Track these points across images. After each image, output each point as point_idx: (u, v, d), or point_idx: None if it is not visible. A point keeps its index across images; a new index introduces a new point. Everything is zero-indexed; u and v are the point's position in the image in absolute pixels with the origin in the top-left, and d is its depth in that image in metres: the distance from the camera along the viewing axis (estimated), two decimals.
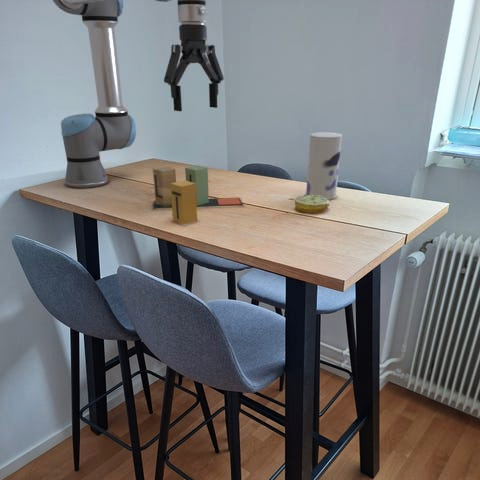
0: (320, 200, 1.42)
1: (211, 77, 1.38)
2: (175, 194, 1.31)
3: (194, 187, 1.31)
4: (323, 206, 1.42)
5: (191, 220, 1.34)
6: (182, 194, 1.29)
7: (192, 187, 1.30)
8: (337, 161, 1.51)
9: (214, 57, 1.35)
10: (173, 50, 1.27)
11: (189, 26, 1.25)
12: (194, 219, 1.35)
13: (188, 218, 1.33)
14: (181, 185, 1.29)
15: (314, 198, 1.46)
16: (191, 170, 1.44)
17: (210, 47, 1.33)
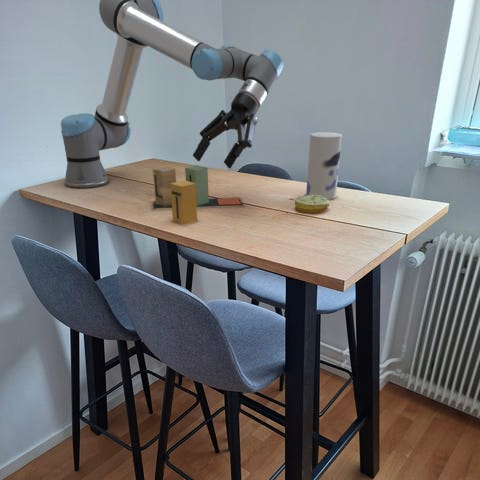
0: (320, 200, 1.42)
1: None
2: (175, 194, 1.31)
3: (194, 187, 1.31)
4: (323, 206, 1.42)
5: (191, 220, 1.34)
6: (182, 194, 1.29)
7: (192, 187, 1.30)
8: (337, 161, 1.51)
9: (248, 122, 1.31)
10: None
11: None
12: (194, 219, 1.35)
13: (188, 218, 1.33)
14: (181, 185, 1.29)
15: (314, 198, 1.46)
16: (191, 170, 1.44)
17: None
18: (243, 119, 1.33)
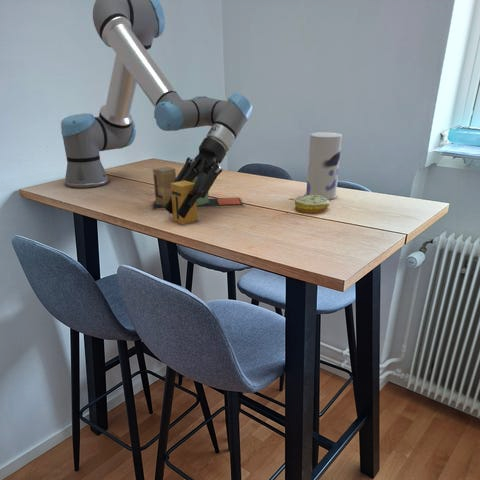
0: (320, 200, 1.42)
1: None
2: (175, 194, 1.31)
3: None
4: (323, 206, 1.42)
5: (191, 220, 1.34)
6: (182, 194, 1.29)
7: (192, 187, 1.30)
8: (337, 161, 1.51)
9: (209, 172, 1.29)
10: None
11: None
12: (194, 219, 1.35)
13: (188, 218, 1.33)
14: (181, 185, 1.29)
15: (314, 198, 1.46)
16: None
17: None
18: (210, 164, 1.31)
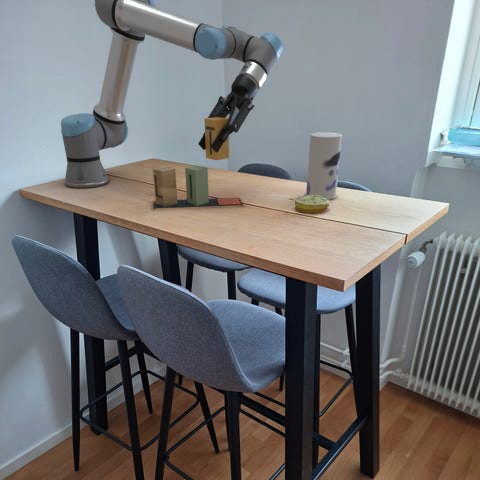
0: (320, 200, 1.42)
1: None
2: (209, 129, 1.35)
3: None
4: (323, 206, 1.42)
5: (223, 156, 1.39)
6: (216, 128, 1.34)
7: (225, 122, 1.35)
8: (337, 161, 1.51)
9: (242, 107, 1.34)
10: None
11: None
12: (226, 155, 1.40)
13: (220, 153, 1.38)
14: (215, 119, 1.33)
15: (314, 198, 1.46)
16: (191, 170, 1.44)
17: None
18: (243, 100, 1.35)
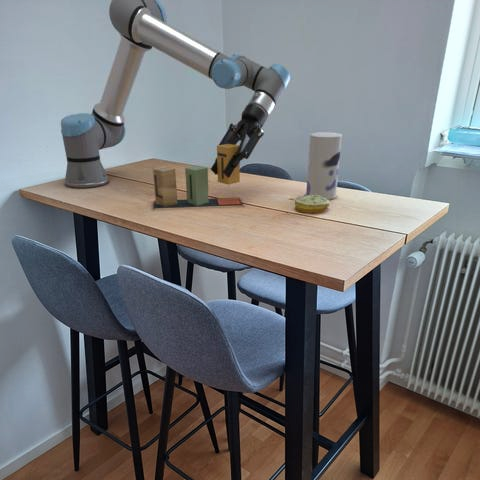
0: (320, 200, 1.42)
1: None
2: (221, 155, 1.44)
3: None
4: (323, 206, 1.42)
5: (234, 180, 1.47)
6: (228, 155, 1.42)
7: (236, 149, 1.43)
8: (337, 161, 1.51)
9: (252, 135, 1.42)
10: None
11: None
12: (237, 179, 1.48)
13: (232, 178, 1.46)
14: (227, 147, 1.42)
15: (314, 198, 1.46)
16: (191, 170, 1.44)
17: None
18: (253, 128, 1.44)
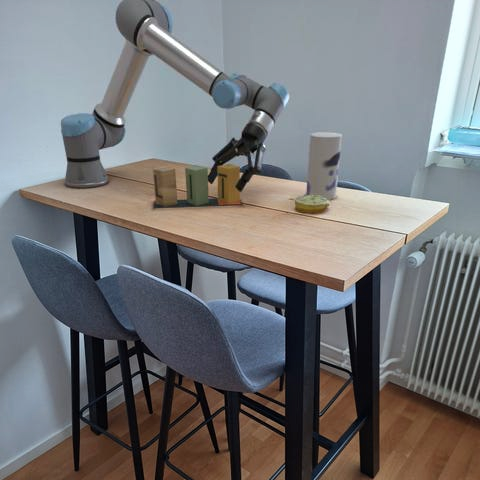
0: (320, 200, 1.42)
1: None
2: (221, 176, 1.47)
3: (238, 169, 1.47)
4: (323, 206, 1.42)
5: (234, 199, 1.50)
6: (228, 176, 1.45)
7: (237, 169, 1.46)
8: (337, 161, 1.51)
9: (257, 150, 1.44)
10: None
11: None
12: (237, 199, 1.51)
13: (232, 197, 1.49)
14: (227, 167, 1.45)
15: (314, 198, 1.46)
16: (191, 170, 1.44)
17: None
18: (252, 147, 1.46)
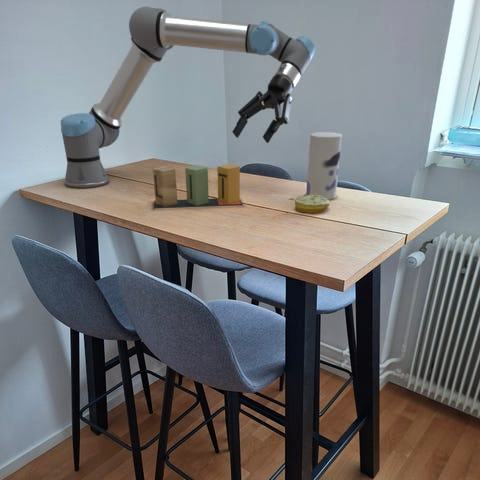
0: (320, 200, 1.42)
1: None
2: (221, 176, 1.47)
3: (238, 169, 1.47)
4: (323, 206, 1.42)
5: (234, 199, 1.50)
6: (228, 176, 1.45)
7: (237, 169, 1.46)
8: (337, 161, 1.51)
9: (284, 101, 1.45)
10: None
11: None
12: (237, 199, 1.51)
13: (232, 197, 1.49)
14: (227, 167, 1.45)
15: (314, 198, 1.46)
16: (191, 170, 1.44)
17: None
18: (279, 99, 1.47)
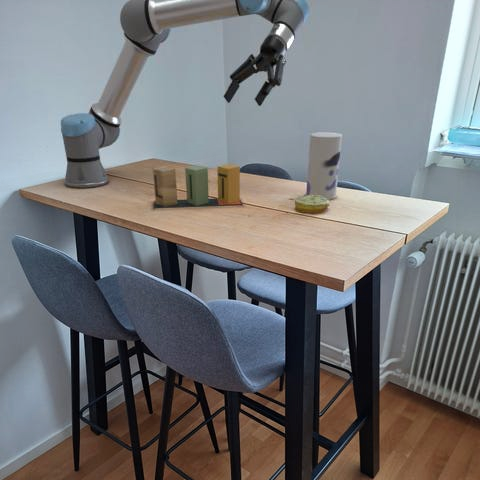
0: (320, 200, 1.42)
1: None
2: (221, 176, 1.47)
3: (238, 169, 1.47)
4: (323, 206, 1.42)
5: (234, 199, 1.50)
6: (228, 176, 1.45)
7: (237, 169, 1.46)
8: (337, 161, 1.51)
9: (277, 62, 1.39)
10: None
11: None
12: (237, 199, 1.51)
13: (232, 197, 1.49)
14: (227, 167, 1.45)
15: (314, 198, 1.46)
16: (191, 170, 1.44)
17: None
18: (272, 60, 1.42)
